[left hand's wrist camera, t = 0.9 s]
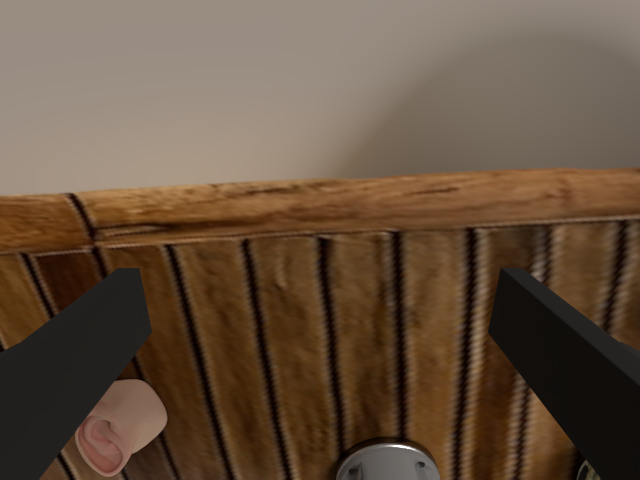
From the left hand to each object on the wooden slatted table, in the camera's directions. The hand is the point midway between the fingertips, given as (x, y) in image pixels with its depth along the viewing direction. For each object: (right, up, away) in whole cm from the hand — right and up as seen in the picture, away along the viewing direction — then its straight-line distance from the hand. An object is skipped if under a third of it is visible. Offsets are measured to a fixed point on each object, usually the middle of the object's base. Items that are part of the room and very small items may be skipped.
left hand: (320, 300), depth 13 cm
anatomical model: (-27, -22, +35) cm, 50 cm away
